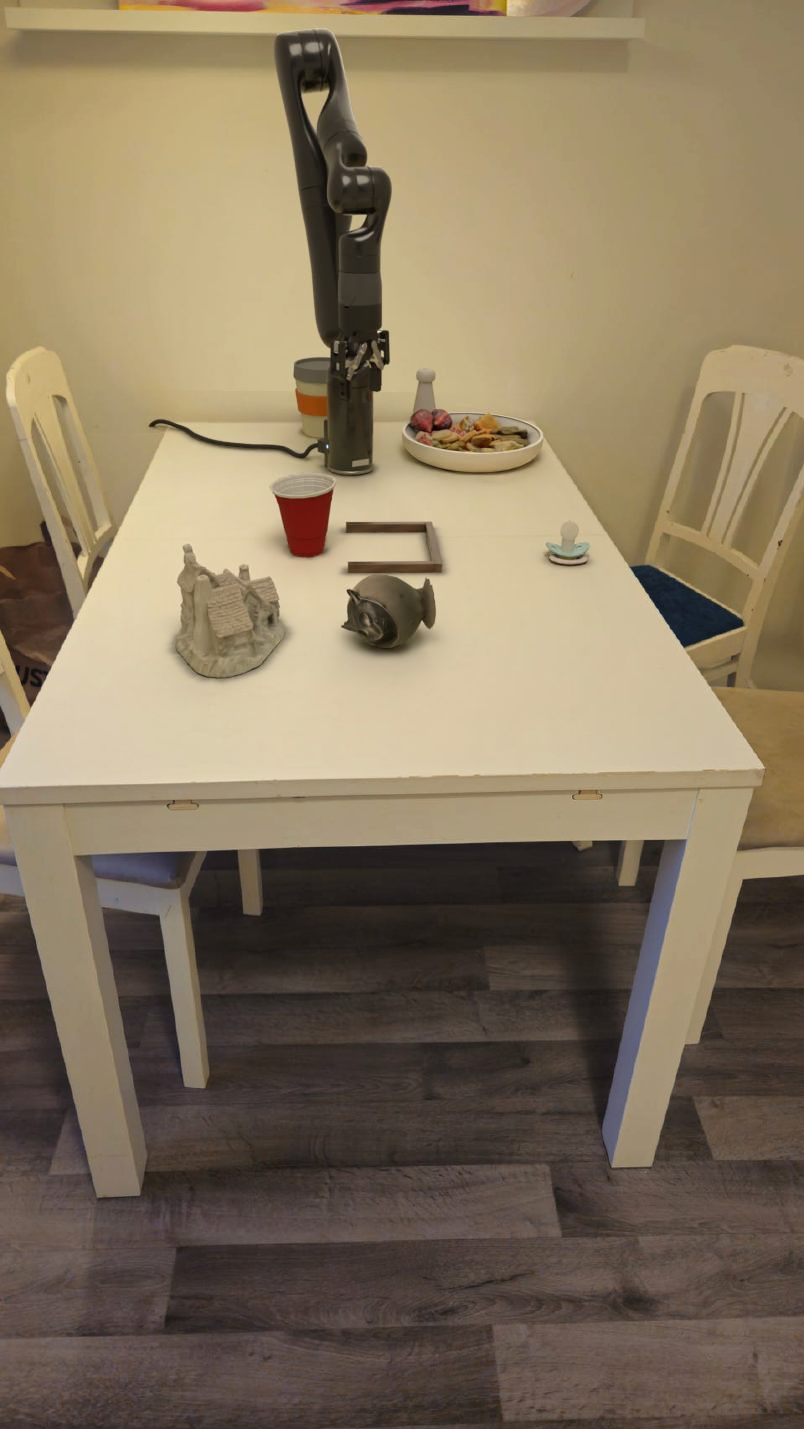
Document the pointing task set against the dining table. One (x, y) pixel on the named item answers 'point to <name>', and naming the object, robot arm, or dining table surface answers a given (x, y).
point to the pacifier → (568, 546)
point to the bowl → (471, 440)
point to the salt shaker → (425, 390)
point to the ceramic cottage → (226, 619)
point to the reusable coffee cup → (312, 393)
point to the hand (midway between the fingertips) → (360, 395)
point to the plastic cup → (305, 510)
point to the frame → (397, 565)
